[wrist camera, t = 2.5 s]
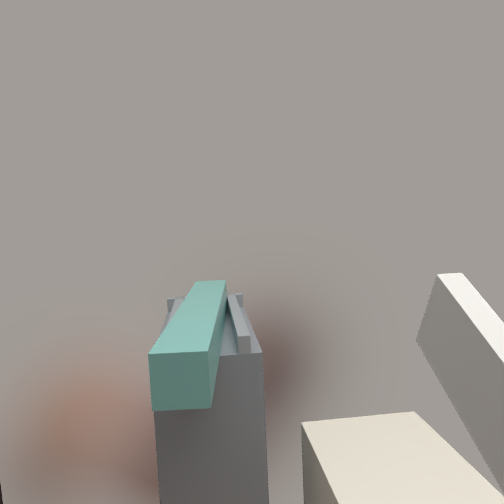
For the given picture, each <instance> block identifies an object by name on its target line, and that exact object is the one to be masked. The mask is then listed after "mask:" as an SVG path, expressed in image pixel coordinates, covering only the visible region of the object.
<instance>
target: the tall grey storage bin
mask: <svg viewBox="0 0 504 504" xmlns="http://www.w3.org/2000/svg"><path fill="white" fill-rule="evenodd" d="M185 298H186V297H172V298H168V299H167V305H168V313H167V316H166V319H165V322H164V325H163V327H162V330H161V333H160V335H161V334H162V332H163V331H164V329H165V328H166V326H167V325H168V323H169V322H170V320H171V319H172V317H173V316H174V314H175V313H176V311H177V310H178V308H179V307H180V305H181V304H182V302H183V301H184V299H185ZM159 337H160V336H159ZM154 422H155V435H156V451H157V464H158V479H159V494H160V504H269V494H268V470H267V446H266V423H265V399H264V375H263V352H262V350H261V348H260V345H259V343H258V341H257V338H256V336H255V334H254V331H253V328H252V326H251V324H250V321H249V319H248V316H247V314H246V312H245V309H244V307H243V294H242V293H234V294H227V315H226V321H225V327H224V333H223V339H222V345H221V351H220V357H219V363H218V369H217V375H216V381H215V387H214V393H213V399H212V405H211V408H205V409H185V410H165V411H154Z"/></svg>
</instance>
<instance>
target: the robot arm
mask: <svg viewBox="0 0 504 504" xmlns="http://www.w3.org/2000/svg"><path fill="white" fill-rule="evenodd" d="M416 341H417V343H418V345H419V346H420V348H421V350H422V352H423V353H424V355H425V357H426V359H427V360H428V362H429V364H430V366H431V367H432V369H433V371H434V373H435V374H436V376H437V378H438V380H439V381H440V383H441V385H442V386H443V388H444V390H445V392H446V394H447V395H448V397H449V399H450V400H451V402H452V404H453V406H454V407H455V409H456V411H457V413H458V414H459V416H460V418H461V420H462V421H463V423H464V425H465V427H466V428H467V430H468V432H469V433H470V435H471V437H472V439H473V440H474V442H475V444H476V446H477V447H478V449H479V451H480V453H481V454H482V456H483V458H484V460H485V461H486V463H487V465H488V467H489V468H490V470H491V472H492V474H493V475H494V477H495V479H496V480H497V482H498V484H499V486H500V488H501V489H502V491H503V493H504V323H503V322H502V320H501V319H500V318H499V317H498V316H497V314H496V313H495V312H494V311H493V310H492V308H491V307H490V306H489V305H488V304H487V302H486V301H485V300H484V299H483V298H482V297H481V295H480V294H479V293H478V292H477V291H476V289H475V288H474V287H473V286H472V284H471V283H470V282H469V281H468V280H467V278H466V277H465V276H464V275H463V274H462V273H451V274H437V276H436V279H435V282H434V285H433V288H432V292H431V295H430V298H429V301H428V304H427V307H426V310H425V313H424V317H423V320H422V323H421V326H420V329H419V332H418V335H417V338H416Z"/></svg>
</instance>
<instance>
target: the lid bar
mask: <svg viewBox="0 0 504 504" xmlns="http://www.w3.org/2000/svg"><path fill="white" fill-rule="evenodd" d="M226 315H227V290H226V280H217V281H196V283H195V284H194V286H193V287H192V289H191V290H190V292H189V293H188V295H187V296H186V298H185V299H184V301H183V302H182V304H181V305H180V307H179V308H178V310H177V311H176V313H175V314H174V316H173V317H172V319H171V320H170V322H169V323H168V325H167V326H166V328H165V329H164V331H163V332H162V334H161V335H160V337H159V338H158V340H157V342H156V343H155V344H154V346H153V348H152V349H151V350H150V352H149V353H148V359H149V373H150V387H151V402H152V411H165V410H185V409H205V408H211V405H212V399H213V393H214V387H215V381H216V375H217V369H218V363H219V357H220V351H221V345H222V339H223V333H224V327H225V321H226Z"/></svg>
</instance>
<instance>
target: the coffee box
mask: <svg viewBox="0 0 504 504" xmlns="http://www.w3.org/2000/svg"><path fill="white" fill-rule="evenodd" d="M0 504H3V501H2V493H1V485H0Z"/></svg>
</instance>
